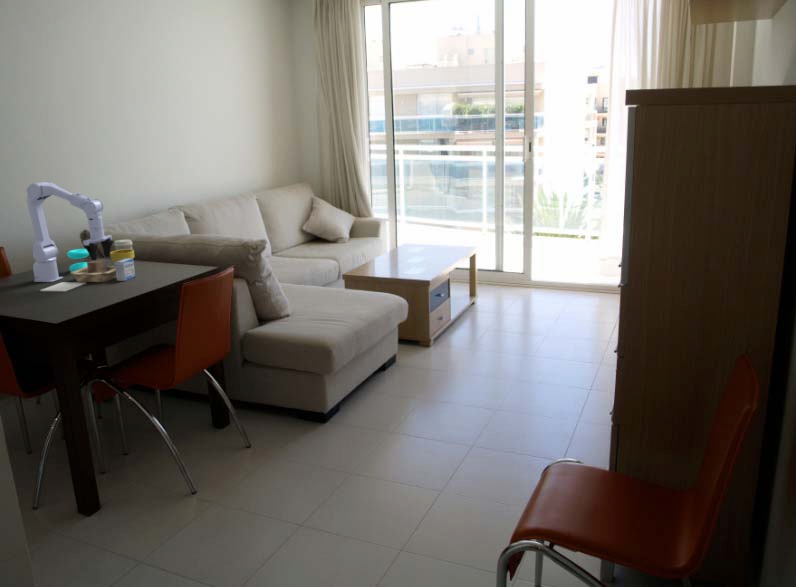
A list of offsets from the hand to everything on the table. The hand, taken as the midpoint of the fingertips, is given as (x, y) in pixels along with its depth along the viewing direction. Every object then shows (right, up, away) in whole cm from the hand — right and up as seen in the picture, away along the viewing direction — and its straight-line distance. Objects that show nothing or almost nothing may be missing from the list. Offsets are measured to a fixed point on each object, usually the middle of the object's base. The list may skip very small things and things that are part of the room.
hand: (100, 258), depth 301 cm
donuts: (-20, -5, +25) cm, 33 cm away
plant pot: (+3, -5, +19) cm, 20 cm away
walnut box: (-4, -9, +7) cm, 12 cm away
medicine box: (+10, -9, +4) cm, 14 cm away
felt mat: (-13, -13, -7) cm, 20 cm away
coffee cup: (-3, -1, +35) cm, 36 cm away
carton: (-4, -9, +7) cm, 12 cm away
